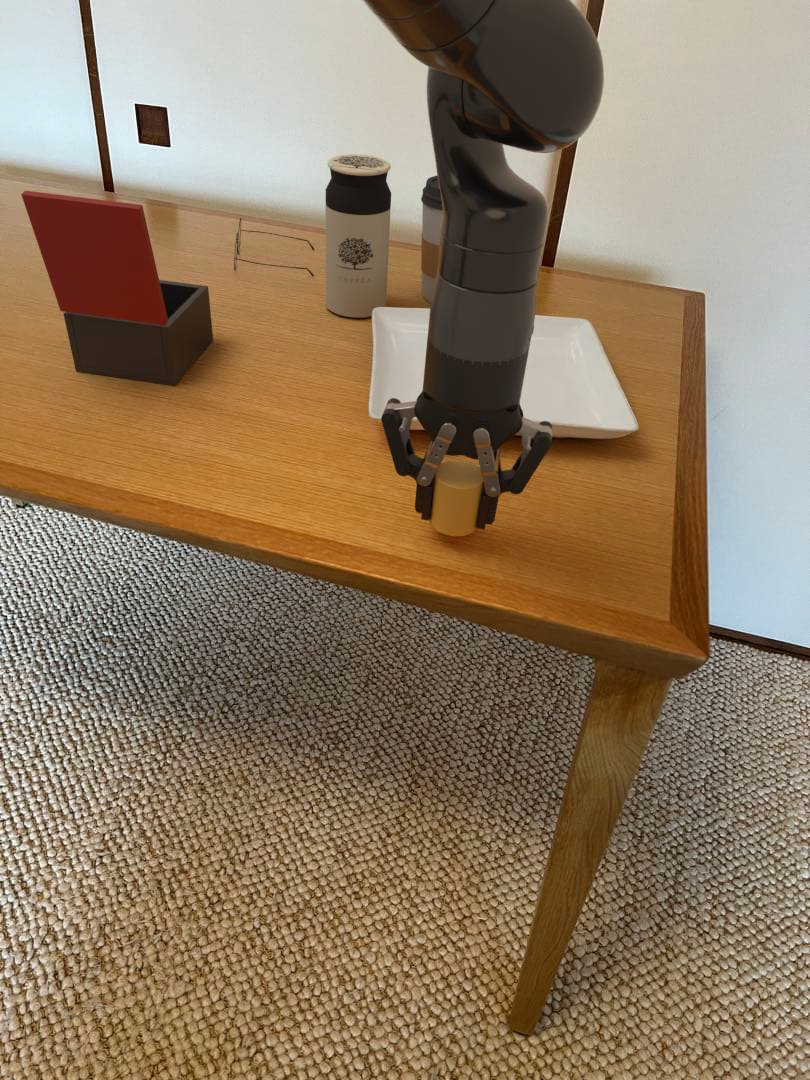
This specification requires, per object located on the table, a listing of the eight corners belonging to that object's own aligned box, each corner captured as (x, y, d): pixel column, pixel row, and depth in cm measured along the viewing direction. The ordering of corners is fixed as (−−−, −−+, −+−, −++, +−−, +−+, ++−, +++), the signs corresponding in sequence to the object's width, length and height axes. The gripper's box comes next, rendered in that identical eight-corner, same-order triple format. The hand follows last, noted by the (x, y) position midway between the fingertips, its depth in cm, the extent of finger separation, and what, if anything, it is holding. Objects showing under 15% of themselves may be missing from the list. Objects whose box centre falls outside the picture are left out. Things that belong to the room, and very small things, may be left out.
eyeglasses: (314, 247, 124) (314, 213, 121) (314, 279, 114) (313, 243, 111) (239, 245, 123) (237, 211, 119) (232, 277, 113) (230, 241, 110)
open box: (122, 328, 99) (112, 273, 95) (213, 340, 98) (208, 286, 93) (75, 371, 90) (63, 313, 86) (175, 386, 89) (167, 327, 85)
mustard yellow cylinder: (442, 540, 68) (448, 492, 65) (421, 511, 71) (426, 464, 68) (486, 531, 69) (494, 483, 66) (464, 502, 72) (471, 455, 69)
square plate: (634, 459, 83) (643, 427, 80) (366, 448, 81) (367, 414, 79) (585, 342, 104) (591, 313, 101) (371, 331, 102) (372, 301, 100)
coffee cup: (446, 281, 117) (457, 170, 107) (486, 301, 112) (501, 187, 102) (401, 293, 112) (408, 178, 103) (441, 314, 108) (452, 197, 98)
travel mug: (337, 291, 111) (338, 150, 100) (393, 301, 110) (400, 159, 99) (316, 313, 105) (315, 166, 94) (375, 324, 104) (381, 175, 93)
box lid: (24, 190, 76) (20, 194, 76) (142, 204, 75) (139, 208, 74) (63, 307, 86) (60, 311, 85) (168, 321, 84) (165, 326, 84)
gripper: (373, 342, 57) (364, 532, 68) (576, 371, 56) (534, 560, 67) (393, 301, 63) (382, 482, 74) (577, 326, 61) (538, 507, 72)
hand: (454, 518), depth 70 cm, fingers closed on mustard yellow cylinder, 4 cm apart
